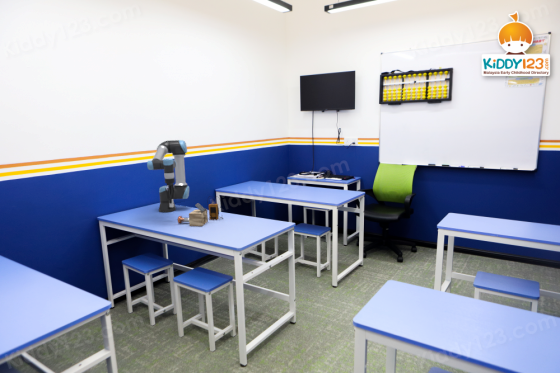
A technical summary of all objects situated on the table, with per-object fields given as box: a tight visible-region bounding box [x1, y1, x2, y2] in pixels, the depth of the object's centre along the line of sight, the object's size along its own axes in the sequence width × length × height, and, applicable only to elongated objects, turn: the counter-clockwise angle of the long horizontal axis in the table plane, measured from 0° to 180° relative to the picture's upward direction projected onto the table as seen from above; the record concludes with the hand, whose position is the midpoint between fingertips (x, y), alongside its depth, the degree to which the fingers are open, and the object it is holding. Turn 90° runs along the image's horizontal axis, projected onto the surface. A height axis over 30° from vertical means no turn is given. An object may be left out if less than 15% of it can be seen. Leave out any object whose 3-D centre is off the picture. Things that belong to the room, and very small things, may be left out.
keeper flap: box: [195, 202, 206, 211], centre depth 280 cm, size 6×8×1 cm
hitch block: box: [188, 208, 209, 227], centre depth 282 cm, size 14×10×12 cm
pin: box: [177, 215, 189, 224], centre depth 284 cm, size 14×6×6 cm, turn 82°
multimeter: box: [206, 196, 223, 221], centre depth 297 cm, size 15×10×20 cm
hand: (171, 207), depth 284 cm, fingers closed
